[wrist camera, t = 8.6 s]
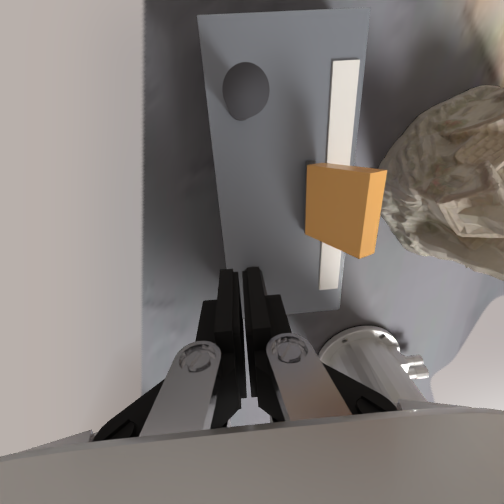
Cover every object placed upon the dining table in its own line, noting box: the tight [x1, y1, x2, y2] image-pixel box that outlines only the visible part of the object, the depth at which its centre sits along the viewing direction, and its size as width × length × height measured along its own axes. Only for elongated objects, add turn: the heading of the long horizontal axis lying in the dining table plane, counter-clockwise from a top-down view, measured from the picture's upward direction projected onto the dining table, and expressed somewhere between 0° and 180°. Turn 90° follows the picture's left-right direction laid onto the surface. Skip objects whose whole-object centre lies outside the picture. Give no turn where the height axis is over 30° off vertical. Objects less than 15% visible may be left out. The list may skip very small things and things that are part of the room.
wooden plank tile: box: [304, 160, 387, 259], centre depth 21 cm, size 2×6×7 cm, turn 1°
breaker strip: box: [197, 7, 371, 319], centre depth 26 cm, size 12×26×6 cm, turn 3°
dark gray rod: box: [222, 62, 270, 121], centre depth 16 cm, size 2×2×10 cm
